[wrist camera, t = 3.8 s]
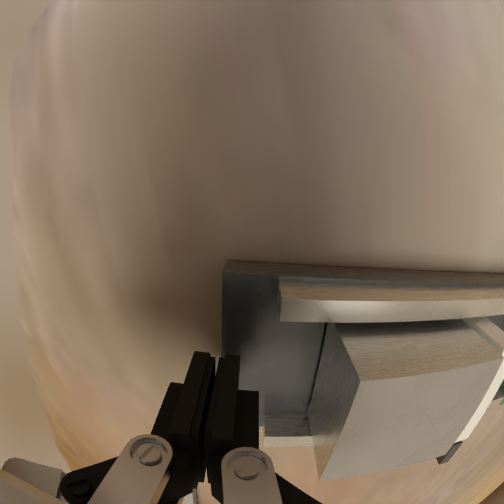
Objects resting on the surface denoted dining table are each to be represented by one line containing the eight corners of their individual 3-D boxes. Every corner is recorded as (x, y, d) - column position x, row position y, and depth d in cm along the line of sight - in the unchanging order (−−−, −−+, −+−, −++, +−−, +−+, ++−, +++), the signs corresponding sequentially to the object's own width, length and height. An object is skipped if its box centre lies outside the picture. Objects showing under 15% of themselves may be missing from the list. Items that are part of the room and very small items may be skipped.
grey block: (329, 313, 10) (360, 380, 7) (452, 311, 10) (504, 357, 7) (307, 412, 12) (319, 480, 8) (416, 401, 12) (445, 454, 8)
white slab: (459, 310, 10) (505, 350, 7) (476, 309, 10) (521, 346, 7) (412, 421, 12) (434, 466, 9) (428, 417, 12) (452, 460, 9)
